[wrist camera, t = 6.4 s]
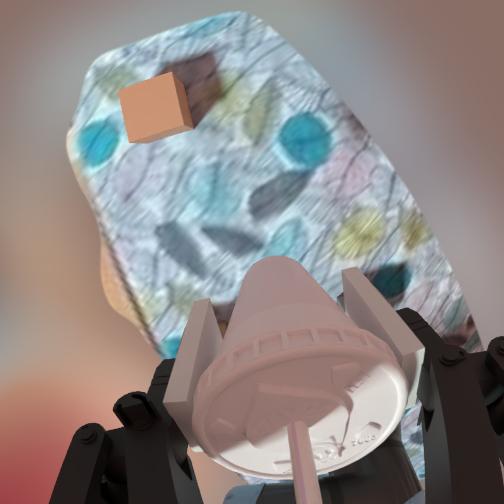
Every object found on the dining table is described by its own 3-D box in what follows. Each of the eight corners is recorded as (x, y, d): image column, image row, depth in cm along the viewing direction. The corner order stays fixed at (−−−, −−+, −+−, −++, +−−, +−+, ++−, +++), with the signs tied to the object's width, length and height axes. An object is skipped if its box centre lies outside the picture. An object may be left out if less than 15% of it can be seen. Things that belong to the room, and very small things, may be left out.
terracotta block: (194, 129, 27) (183, 125, 22) (147, 143, 27) (129, 142, 23) (183, 83, 26) (171, 71, 21) (137, 98, 26) (118, 91, 21)
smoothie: (297, 206, 15) (495, 460, 2) (351, 301, 17) (473, 521, 3) (193, 271, 16) (96, 547, 3) (257, 353, 18) (270, 588, 4)
